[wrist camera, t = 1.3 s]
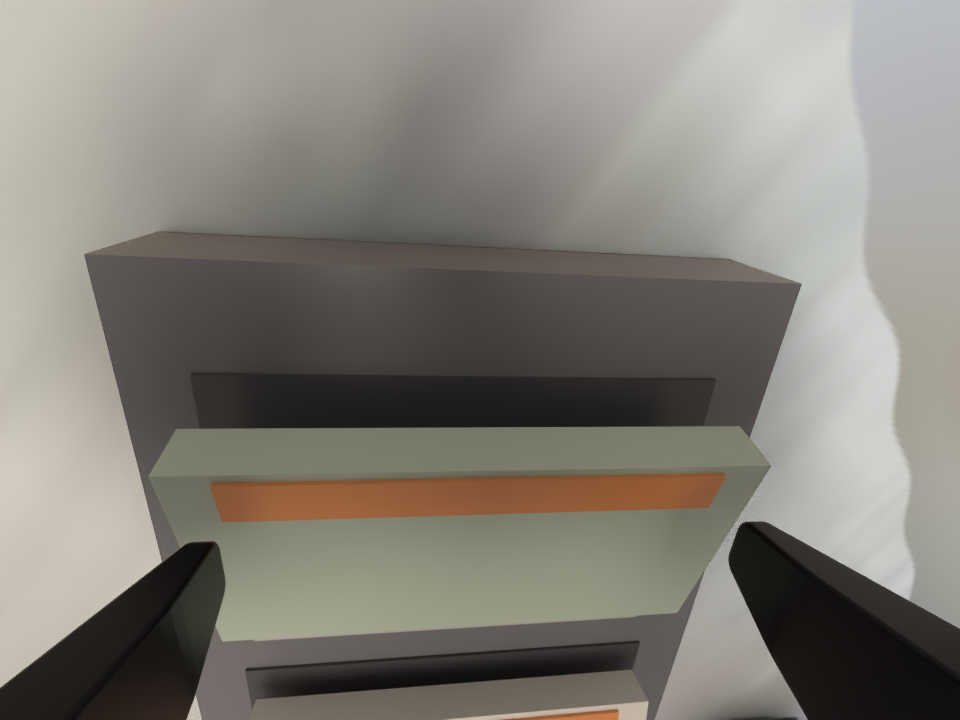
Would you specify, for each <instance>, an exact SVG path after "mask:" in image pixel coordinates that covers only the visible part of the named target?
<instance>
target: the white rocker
mask: <svg viewBox="0 0 960 720" xmlns="http://www.w3.org/2000/svg"><path fill="white" fill-rule="evenodd" d="M648 702H649V701H648V699H647V697H646V695H645V694H644V692H643V690H642V688H641V686H640V684H639V682H638V681H637V679H636V677H635V675H634V673H633V671H632V670H621V671H608V672H595V673H583V674H570V675H558V676H545V677H532V678H520V679H507V680H495V681H482V682H469V683H457V684H444V685H432V686H419V687H407V688H394V689H381V690H369V691H356V692H344V693H331V694H318V695H306V696H293V697H281V698H268V699H256V701H255V704H254V707H253V710H252V712H251V715H250V718H249V720H646V718H647V710H648Z"/></svg>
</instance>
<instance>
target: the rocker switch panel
mask: <svg viewBox="0 0 960 720" xmlns="http://www.w3.org/2000/svg"><path fill="white" fill-rule="evenodd" d="M84 255H85V259H86V263H87V267H88V271H89V275H90V279H91V283H92V287H93V291H94V295H95V299H96V303H97V307H98V311H99V315H100V319H101V322H102V326H103V330H104V334H105V338H106V342H107V346H108V350H109V354H110V358H111V362H112V366H113V370H114V374H115V378H116V382H117V386H118V389H119V393H120V397H121V401H122V405H123V409H124V413H125V417H126V421H127V425H128V429H129V433H130V437H131V441H132V445H133V449H134V453H135V457H136V460H137V464H138V468H139V472H140V476H141V480H142V484H143V488H144V492H145V496H146V500H147V504H148V508H149V512H150V516H151V520H152V524H153V527H154V531H155V535H156V539H157V543H158V547H159V551H160V555H161V559H162V562H163V561H164V560H166V559H167V558H168V557H169V556H171V555H172V554H173V553H175V552H176V551H177V550H178V549H180V546H179V544H178V542H177V540H176V538H175V535H174V533H173V531H172V529H171V526H170V524H169V522H168V520H167V518H166V515H165V513H164V511H163V509H162V507H161V504H160V502H159V500H158V498H157V495H156V493H155V491H154V489H153V487H152V484H151V482H150V480H149V478H148V476H149V474H150V473H151V471H152V469H153V467H154V466H155V464H156V462H157V461H158V459H159V457H160V456H161V454H162V452H163V451H164V449H165V447H166V446H167V444H168V442H169V440H170V439H171V437H172V435H173V434H174V432H175V430H176V429H256V428H471V427H685V426H740V427H741V428H742V430H743V431H744V432H745V433H746V435H747V436H748V437H749V438H750V435H751V432H752V429H753V426H754V423H755V420H756V417H757V414H758V411H759V408H760V405H761V402H762V399H763V396H764V394H765V391H766V388H767V385H768V382H769V379H770V376H771V373H772V370H773V367H774V364H775V361H776V358H777V355H778V352H779V349H780V346H781V343H782V340H783V337H784V334H785V331H786V328H787V325H788V322H789V319H790V317H791V314H792V311H793V308H794V305H795V302H796V299H797V296H798V293H799V290H800V287H801V284H800V283H797V282H794V281H791V280H788V279H785V278H783V277H780V276H777V275H774V274H771V273H768V272H765V271H762V270H759V269H756V268H753V267H750V266H747V265H744V264H741V263H738V262H735V261H732V260H730V259H713V258H692V257H671V256H651V255H630V254H609V253H589V252H568V251H547V250H526V249H506V248H485V247H464V246H444V245H423V244H402V243H382V242H361V241H340V240H320V239H299V238H278V237H257V236H237V235H216V234H195V233H175V232H156V233H152V234H149V235H146V236H142V237H139V238H136V239H133V240H129V241H126V242H123V243H119V244H116V245H113V246H110V247H106V248H103V249H100V250H96V251H93V252H90V253H87V254H84ZM704 571H705V570H704ZM703 574H704V572H703V573H702V575H701V576H700V578H699V580H698V581H697V583H696V584H695V586H694V587H693V589H692V591H691V592H690V594H689V595H688V597H687V598H686V600H685V601H684V603H683V605H682V606H681V608H680V609H679V611H678V612H677V613H669V614H654V615H638V616H622V617H606V618H590V619H574V620H558V621H542V622H526V623H510V624H495V625H479V626H463V627H447V628H431V629H415V630H399V631H383V632H367V633H351V634H335V635H320V636H304V637H288V638H272V639H256V640H240V641H224V642H222V640H221V637H220V635H219V633H218V631H217V629H216V626H215V628H214V632H213V635H212V639H211V642H210V646H209V649H208V653H207V656H206V660H205V663H204V667H203V670H202V674H201V677H200V681H199V684H198V687H197V690H196V697H197V701H198V705H199V709H200V713H201V717H202V720H249V718H250V715H251V712H252V710H253V707H254V704H255V701H256V699H268V698H281V697H293V696H306V695H318V694H331V693H344V692H356V691H369V690H381V689H394V688H407V687H419V686H432V685H444V684H457V683H469V682H482V681H495V680H507V679H520V678H532V677H545V676H558V675H570V674H583V673H595V672H608V671H621V670H632V671H633V673H634V675H635V677H636V679H637V681H638V682H639V684H640V686H641V688H642V690H643V692H644V694H645V695H646V697H647V699H648V701H649V702H648V710H647V718H646V720H654V719H655V716H656V713H657V710H658V707H659V704H660V701H661V698H662V695H663V693H664V690H665V687H666V684H667V681H668V678H669V675H670V672H671V669H672V666H673V663H674V660H675V657H676V654H677V651H678V648H679V645H680V642H681V639H682V636H683V633H684V630H685V627H686V624H687V621H688V619H689V616H690V613H691V610H692V607H693V604H694V601H695V598H696V595H697V592H698V589H699V586H700V583H701V580H702V577H703Z"/></svg>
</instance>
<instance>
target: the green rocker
mask: <svg viewBox="0 0 960 720" xmlns="http://www.w3.org/2000/svg"><path fill="white" fill-rule="evenodd" d="M770 467H771V465H770V464H769V462H768V461H767V460H766V459H765V457H764V456H763V455H762V454H761V452H760V451H759V450H758V449H757V447H756V446H755V445H754V443H753V442H752V441H751V440H750V438H749V437H748V436H747V435H746V433H745V432H744V431H743V430H742V428H741V427H740V426H685V427H471V428H256V429H176V430H175V432H174V434H173V435H172V437H171V439H170V440H169V442H168V444H167V446H166V447H165V449H164V451H163V452H162V454H161V456H160V457H159V459H158V461H157V462H156V464H155V466H154V467H153V469H152V471H151V473H150V474H149V476H148V478H149V480H150V482H151V484H152V487H153V489H154V491H155V493H156V495H157V498H158V500H159V502H160V504H161V507H162V509H163V511H164V513H165V515H166V518H167V520H168V522H169V524H170V526H171V529H172V531H173V533H174V535H175V538H176V540H177V542H178V544H179V546H180V548H181V547H182V546H184V545H185V544H187V543H190V542H203V541H214V542H216V543H217V544H218V545H219V548H220V553H221V558H222V563H223V569H224V574H225V580H226V586H225V593H224V597H223V601H222V604H221V608H220V611H219V615H218V618H217V622H216V625H215V626H216V629H217V631H218V633H219V635H220V637H221V640H222V642H224V641H240V640H256V639H272V638H288V637H304V636H320V635H335V634H351V633H367V632H383V631H399V630H415V629H431V628H447V627H463V626H479V625H495V624H510V623H526V622H542V621H558V620H574V619H590V618H606V617H622V616H638V615H654V614H669V613H677V612H678V611H679V609H680V608H681V606H682V605H683V603H684V601H685V600H686V598H687V597H688V595H689V594H690V592H691V591H692V589H693V587H694V586H695V584H696V583H697V581H698V580H699V578H700V576H701V575H702V573H703V572H704V570H705V569H706V567H707V565H708V564H709V562H710V561H711V559H712V558H713V556H714V555H715V553H716V551H717V550H718V548H719V547H720V545H721V544H722V542H723V540H724V539H725V537H726V536H727V534H728V533H729V531H730V529H731V528H732V526H733V525H734V523H735V522H736V520H737V519H738V517H739V515H740V514H741V512H742V511H743V509H744V508H745V506H746V504H747V503H748V501H749V500H750V498H751V497H752V495H753V493H754V492H755V490H756V489H757V487H758V486H759V484H760V483H761V481H762V479H763V478H764V476H765V475H766V473H767V472H768V470H769V468H770Z"/></svg>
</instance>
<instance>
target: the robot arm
mask: <svg viewBox="0 0 960 720" xmlns="http://www.w3.org/2000/svg"><path fill="white" fill-rule="evenodd" d="M729 566H730V569H731V572H732V574H733V576H734V578H735V580H736V583H737V585H738V587H739V589H740V591H741V593H742V595H743V597H744V600H745V602H746V604H747V606H748V608H749V610H750V612H751V614H752V617H753V619H754V621H755V623H756V625H757V627H758V629H759V631H760V634H761V636H762V638H763V640H764V642H765V644H766V646H767V648H768V650H769V652H770V654H771V656H772V658H773V659H774V661H775V663H776V665H777V667H778V669H779V670H780V672H781V674H782V675H783V677H784V679H785V681H786V682H787V684H788V686H789V688H790V689H791V691H792V693H793V694H794V696H795V698H796V700H797V701H798V703H799V705H800V707H801V708H802V710H803V712H804V714H805V715H806V717H807V719H808V720H960V629H959V628H957V627H955V626H954V625H952V624H950V623H948V622H946V621H944V620H943V619H941V618H939V617H937V616H936V615H934V614H932V613H930V612H928V611H926V610H925V609H923V608H921V607H919V606H917V605H916V604H914V603H912V602H910V601H908V600H907V599H905V598H903V597H901V596H899V595H897V594H896V593H894V592H892V591H890V590H888V589H887V588H885V587H883V586H881V585H879V584H878V583H876V582H874V581H872V580H870V579H869V578H867V577H865V576H863V575H861V574H859V573H858V572H856V571H854V570H852V569H850V568H849V567H847V566H845V565H843V564H841V563H840V562H838V561H836V560H834V559H832V558H830V557H829V556H827V555H825V554H823V553H821V552H820V551H818V550H816V549H814V548H812V547H811V546H809V545H807V544H805V543H803V542H802V541H800V540H798V539H796V538H794V537H792V536H791V535H789V534H787V533H785V532H783V531H782V530H780V529H778V528H776V527H774V526H773V525H771V524H769V523H766V522H761V521H760V522H744V523H742V524H741V525H740V526H739V528H738V531H737V533H736V536H735V539H734V542H733V545H732V547H731V550H730V553H729ZM225 586H226V580H225V574H224V569H223V563H222V558H221V553H220V548H219V545H218V544H217V543H216V542H214V541H203V542H190V543H187V544H185V545H184V546H182V547H181V548H180V549H178V550H177V551H176V552H175V553H173V554H172V555H171V556H169V557H168V558H167V559H166V560H164V561H163V562H162V563H160V564H159V565H158V566H156V567H155V568H154V569H153V570H151V571H150V572H149V573H147V574H146V575H145V576H144V577H142V578H141V579H140V580H138V581H137V582H136V583H135V584H133V585H132V586H131V587H129V588H128V589H127V590H126V591H124V592H123V593H122V594H120V595H119V596H118V597H117V598H115V599H114V600H113V601H111V602H110V603H109V604H108V605H106V606H105V607H104V608H102V609H101V610H100V611H99V612H97V613H96V614H95V615H93V616H92V617H91V618H89V619H88V620H87V621H86V622H84V623H83V624H82V625H80V626H79V627H78V628H77V629H75V630H74V631H73V632H71V633H70V634H69V635H68V636H66V637H65V638H64V639H62V640H61V641H60V642H59V643H57V644H56V645H55V646H53V647H52V648H51V649H50V650H48V651H47V652H46V653H44V654H43V655H42V656H41V657H39V658H38V659H37V660H35V661H34V662H33V663H32V664H30V665H29V666H28V667H26V668H25V669H24V670H23V671H21V672H20V673H19V674H17V675H16V676H15V677H13V678H12V679H11V680H10V681H8V682H7V683H6V684H4V685H3V686H2V687H1V688H0V720H186V719H187V716H188V714H189V711H190V708H191V705H192V703H193V700H194V697H195V694H196V690H197V687H198V684H199V681H200V677H201V674H202V670H203V667H204V663H205V660H206V656H207V653H208V649H209V646H210V642H211V639H212V635H213V632H214V628H215V625H216V622H217V618H218V615H219V611H220V608H221V604H222V601H223V597H224V593H225Z"/></svg>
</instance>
